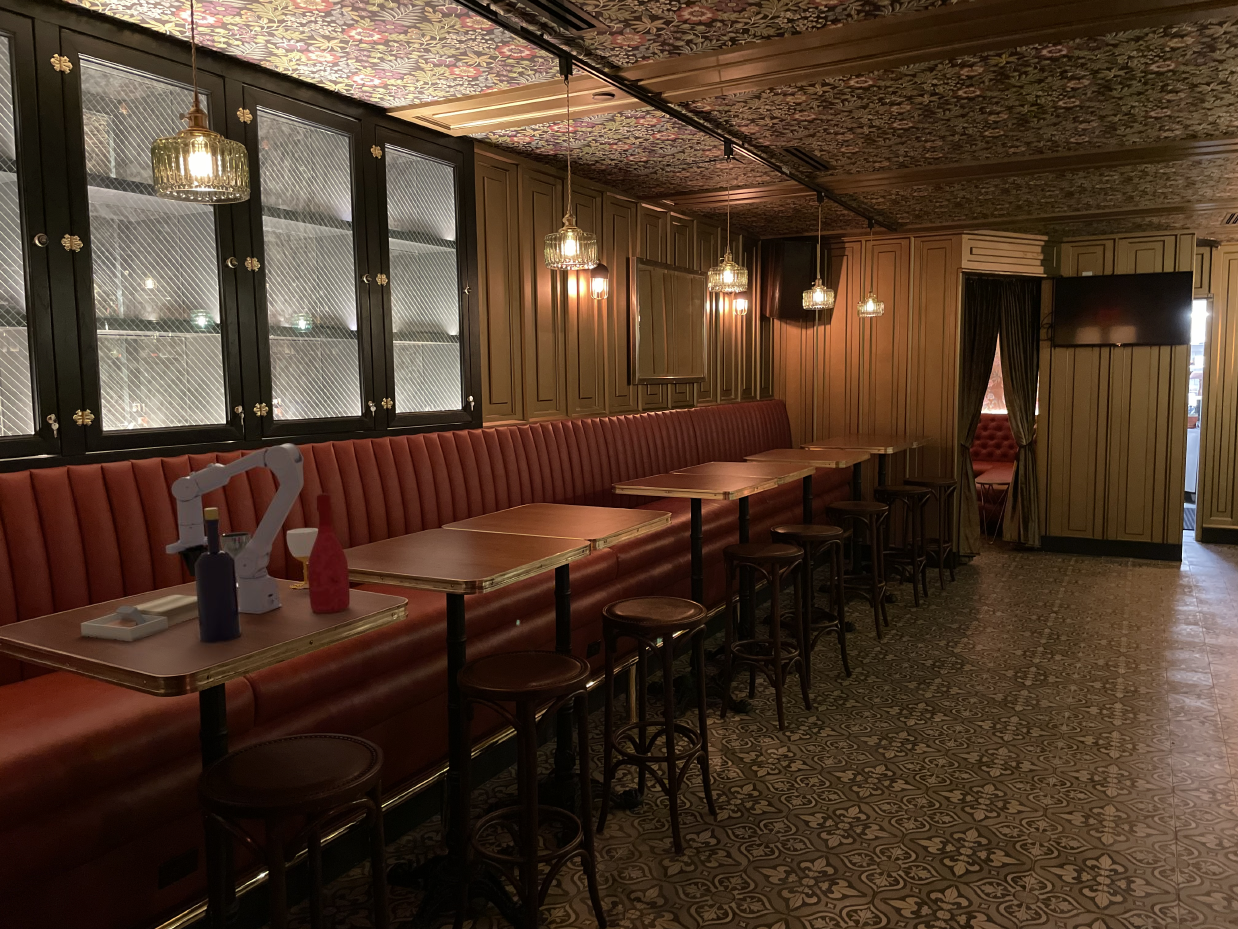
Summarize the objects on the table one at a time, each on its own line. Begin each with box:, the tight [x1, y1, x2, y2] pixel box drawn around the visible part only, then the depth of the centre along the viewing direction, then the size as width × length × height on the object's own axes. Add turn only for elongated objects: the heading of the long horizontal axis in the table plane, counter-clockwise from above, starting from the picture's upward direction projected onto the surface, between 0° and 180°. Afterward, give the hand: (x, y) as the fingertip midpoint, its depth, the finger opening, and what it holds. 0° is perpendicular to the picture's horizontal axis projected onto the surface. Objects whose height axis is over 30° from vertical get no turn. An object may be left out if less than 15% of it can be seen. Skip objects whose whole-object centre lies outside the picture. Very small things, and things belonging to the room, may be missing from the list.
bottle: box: [195, 507, 242, 644], centre depth 199 cm, size 9×9×30 cm
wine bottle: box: [307, 492, 351, 614], centre depth 221 cm, size 10×10×30 cm
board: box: [132, 594, 199, 627], centre depth 218 cm, size 12×14×4 cm
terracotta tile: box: [105, 620, 136, 628], centre depth 205 cm, size 5×5×2 cm
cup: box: [286, 527, 318, 590], centre depth 249 cm, size 9×9×16 cm
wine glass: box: [219, 531, 252, 587], centre depth 252 cm, size 8×8×15 cm
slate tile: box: [115, 605, 147, 626], centre depth 208 cm, size 5×5×2 cm
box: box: [80, 612, 169, 642], centre depth 206 cm, size 16×10×3 cm, turn 69°
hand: (195, 575), depth 223 cm, fingers closed
